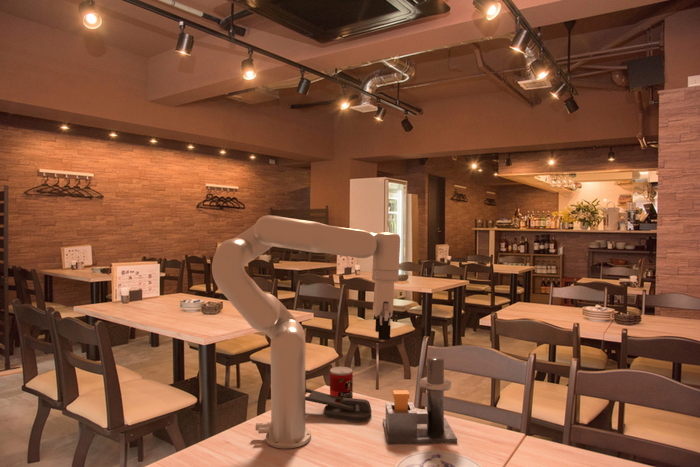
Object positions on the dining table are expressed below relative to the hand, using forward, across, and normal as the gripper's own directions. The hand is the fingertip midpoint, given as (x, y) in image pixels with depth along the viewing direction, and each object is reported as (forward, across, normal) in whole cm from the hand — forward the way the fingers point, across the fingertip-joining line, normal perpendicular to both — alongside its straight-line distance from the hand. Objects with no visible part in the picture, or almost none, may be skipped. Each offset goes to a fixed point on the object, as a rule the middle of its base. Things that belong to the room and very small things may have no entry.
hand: (382, 335), depth 132 cm
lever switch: (+28, -1, +12) cm, 30 cm away
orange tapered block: (+27, -1, +7) cm, 28 cm away
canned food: (+29, -25, -10) cm, 39 cm away
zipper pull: (+29, -15, -13) cm, 35 cm away
